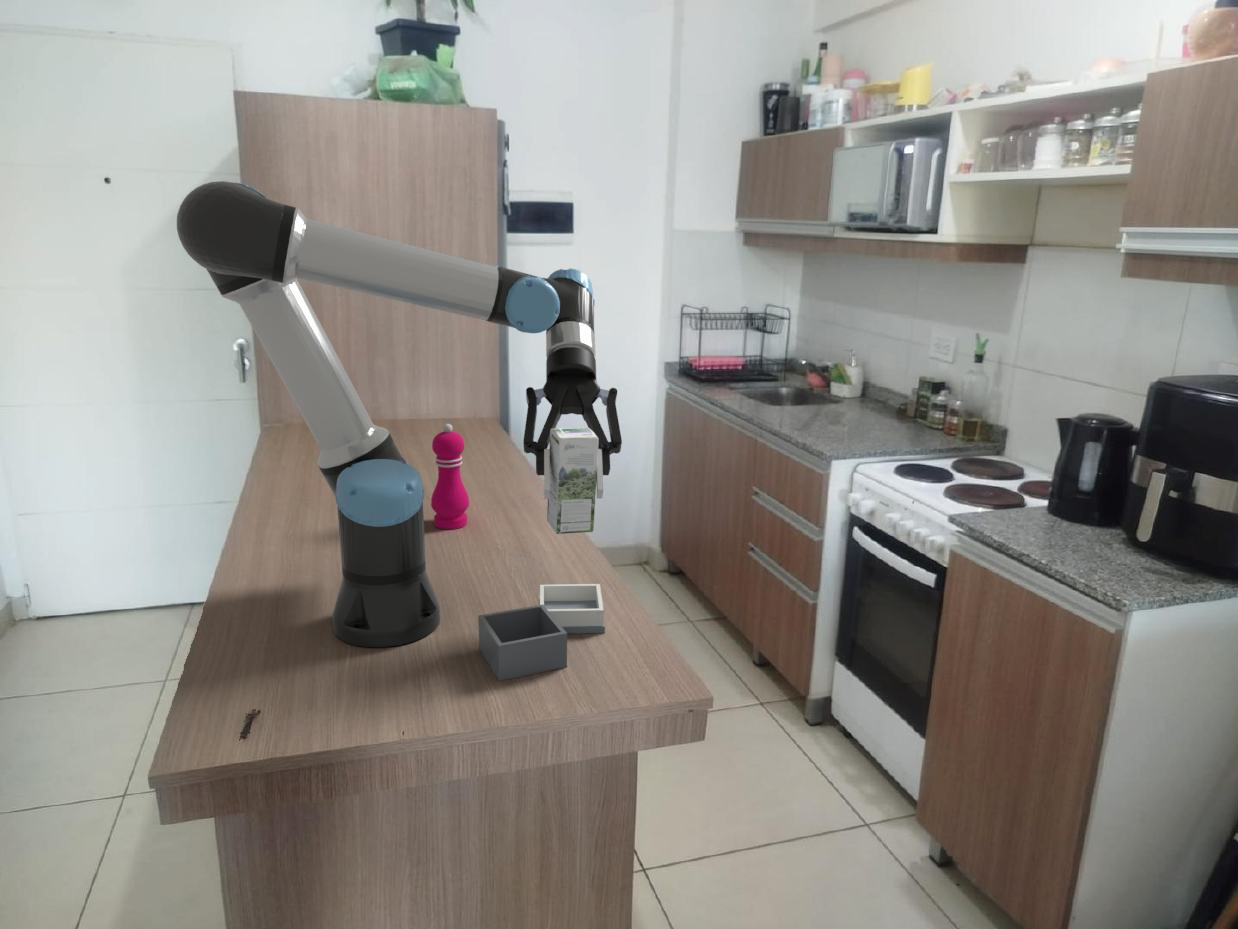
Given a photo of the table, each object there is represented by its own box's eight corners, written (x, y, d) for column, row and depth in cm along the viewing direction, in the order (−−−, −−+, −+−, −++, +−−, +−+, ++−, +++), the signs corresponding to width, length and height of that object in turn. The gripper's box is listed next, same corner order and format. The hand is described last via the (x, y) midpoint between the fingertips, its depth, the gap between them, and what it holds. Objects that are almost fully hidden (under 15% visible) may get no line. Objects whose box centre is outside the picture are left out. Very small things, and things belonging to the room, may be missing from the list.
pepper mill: (461, 532, 163) (458, 429, 158) (425, 528, 164) (421, 426, 159) (475, 519, 170) (472, 420, 164) (440, 516, 171) (437, 418, 166)
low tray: (604, 632, 125) (605, 610, 124) (538, 634, 124) (538, 611, 123) (600, 604, 134) (600, 583, 133) (538, 605, 134) (538, 584, 133)
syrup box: (583, 519, 129) (587, 425, 125) (594, 533, 124) (599, 435, 120) (546, 521, 127) (549, 426, 123) (556, 535, 122) (559, 436, 118)
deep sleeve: (499, 680, 112) (498, 646, 110) (479, 648, 120) (478, 615, 119) (566, 666, 116) (567, 633, 114) (542, 636, 124) (542, 604, 122)
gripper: (632, 373, 135) (640, 505, 124) (507, 372, 134) (503, 506, 123) (637, 345, 129) (646, 481, 118) (505, 343, 127) (501, 482, 116)
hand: (573, 494), depth 120 cm, fingers closed on syrup box, 7 cm apart
